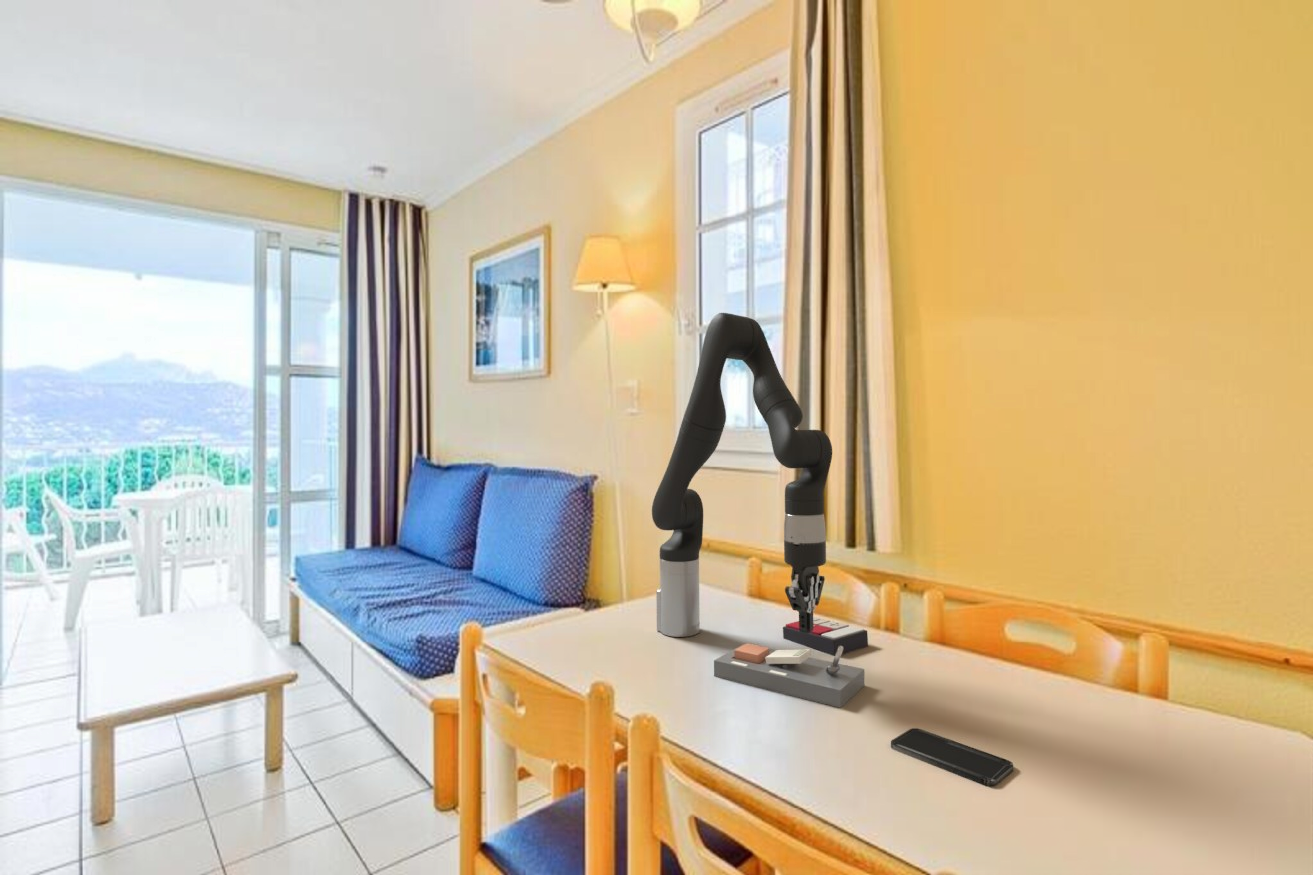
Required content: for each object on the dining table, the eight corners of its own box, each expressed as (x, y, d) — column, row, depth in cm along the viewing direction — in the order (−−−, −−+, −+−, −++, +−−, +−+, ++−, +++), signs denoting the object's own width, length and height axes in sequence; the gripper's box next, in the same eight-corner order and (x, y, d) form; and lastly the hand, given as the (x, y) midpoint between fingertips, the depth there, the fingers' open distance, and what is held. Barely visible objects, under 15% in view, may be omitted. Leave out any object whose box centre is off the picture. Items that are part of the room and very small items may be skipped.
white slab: (766, 663, 124) (765, 656, 124) (778, 656, 128) (777, 649, 128) (800, 663, 120) (798, 656, 120) (811, 655, 124) (810, 648, 124)
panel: (714, 675, 127) (713, 657, 127) (744, 657, 137) (744, 640, 137) (840, 707, 112) (840, 686, 112) (864, 685, 122) (864, 665, 122)
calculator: (814, 615, 156) (868, 626, 144) (815, 633, 156) (869, 646, 144) (781, 623, 149) (834, 636, 137) (782, 642, 149) (835, 657, 137)
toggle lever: (824, 672, 119) (835, 645, 118) (830, 668, 121) (840, 642, 119) (833, 677, 118) (843, 650, 117) (838, 673, 120) (848, 646, 119)
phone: (992, 782, 87) (887, 742, 98) (992, 791, 87) (887, 749, 98) (1016, 762, 92) (914, 726, 103) (1016, 770, 92) (914, 733, 103)
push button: (734, 664, 128) (734, 650, 128) (747, 657, 132) (746, 643, 132) (757, 669, 125) (757, 655, 125) (769, 662, 129) (769, 647, 129)
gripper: (800, 531, 130) (802, 620, 130) (770, 541, 119) (771, 637, 119) (837, 534, 125) (839, 626, 125) (809, 545, 114) (810, 645, 115)
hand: (806, 631), depth 122 cm, fingers closed
